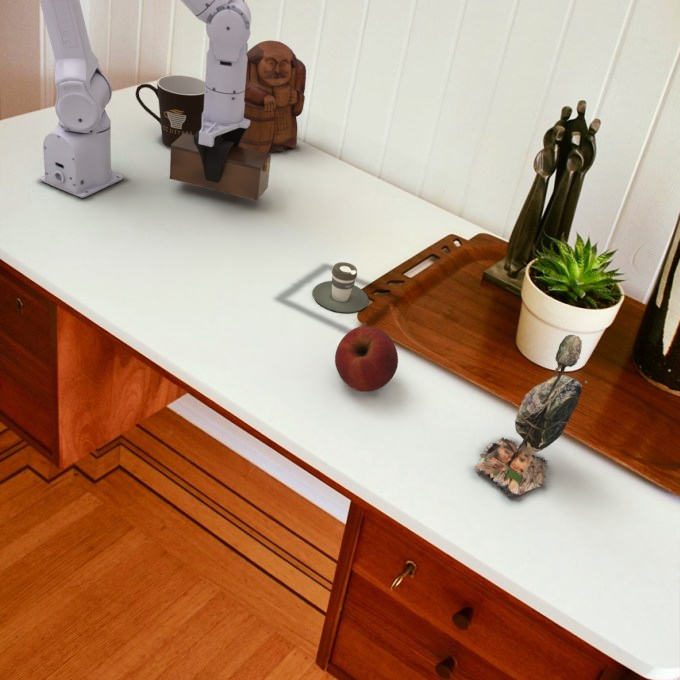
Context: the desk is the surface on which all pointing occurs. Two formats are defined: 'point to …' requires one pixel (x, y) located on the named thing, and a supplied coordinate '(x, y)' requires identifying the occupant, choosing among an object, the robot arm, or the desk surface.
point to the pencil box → (238, 174)
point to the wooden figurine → (273, 97)
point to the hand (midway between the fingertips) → (219, 173)
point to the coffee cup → (341, 291)
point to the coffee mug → (177, 105)
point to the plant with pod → (535, 427)
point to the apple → (366, 359)
